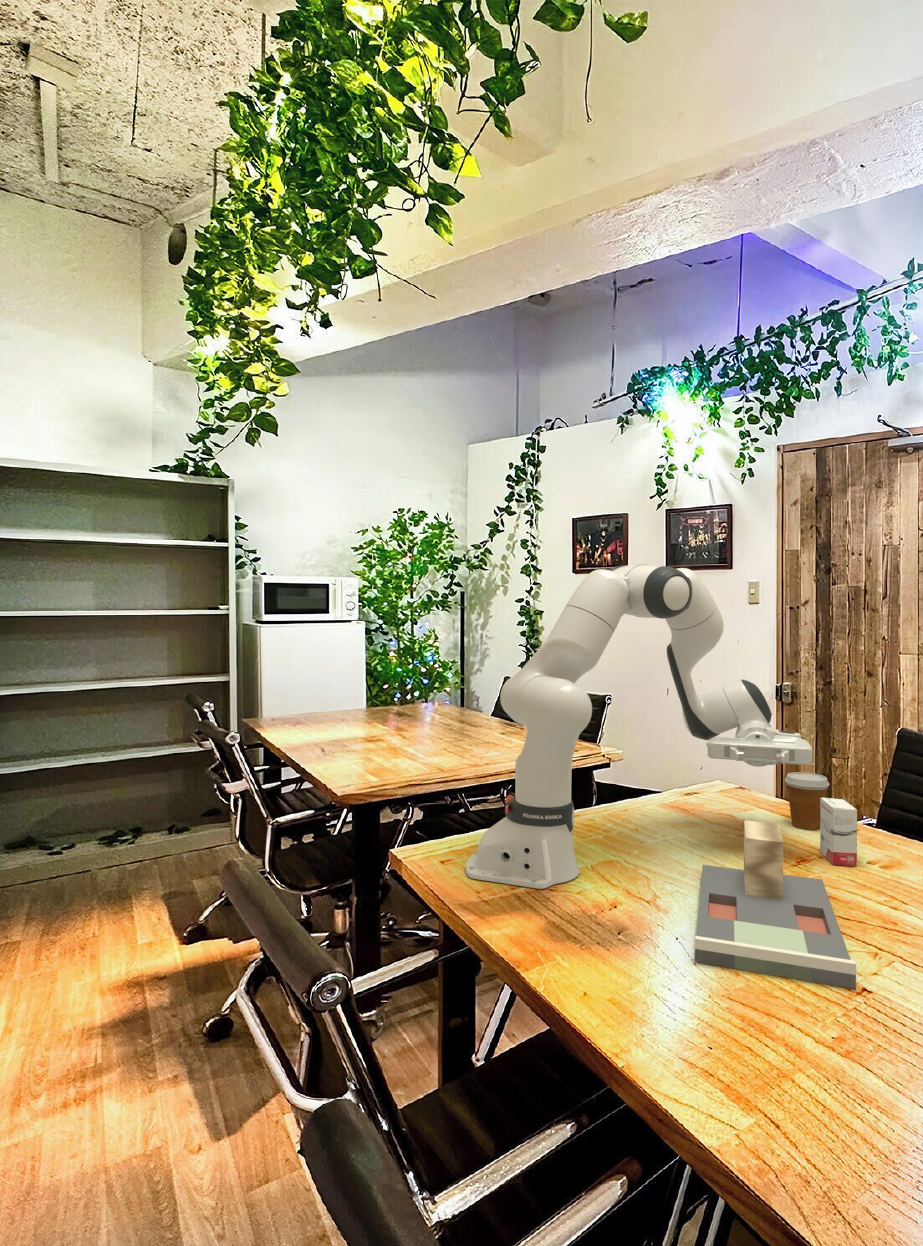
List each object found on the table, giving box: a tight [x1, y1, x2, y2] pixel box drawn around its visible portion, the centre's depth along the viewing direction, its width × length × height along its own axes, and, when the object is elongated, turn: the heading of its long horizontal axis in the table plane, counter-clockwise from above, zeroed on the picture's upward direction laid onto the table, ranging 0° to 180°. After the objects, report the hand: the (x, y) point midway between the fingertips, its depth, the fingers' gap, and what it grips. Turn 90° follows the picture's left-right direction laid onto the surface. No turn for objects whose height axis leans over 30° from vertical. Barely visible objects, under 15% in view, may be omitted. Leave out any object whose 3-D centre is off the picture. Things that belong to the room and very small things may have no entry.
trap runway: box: [694, 864, 857, 990], centre depth 116 cm, size 21×36×4 cm, turn 159°
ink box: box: [819, 797, 858, 867], centre depth 146 cm, size 9×5×12 cm, turn 168°
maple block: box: [743, 820, 784, 900], centre depth 127 cm, size 6×11×10 cm, turn 159°
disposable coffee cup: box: [784, 771, 830, 831], centre depth 167 cm, size 10×10×12 cm
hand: (759, 758), depth 140 cm, fingers open, 6 cm apart
